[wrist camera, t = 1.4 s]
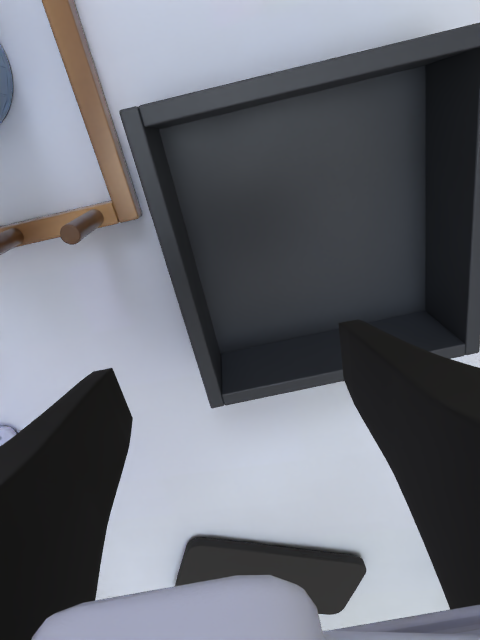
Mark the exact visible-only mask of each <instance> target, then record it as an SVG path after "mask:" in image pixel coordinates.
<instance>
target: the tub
mask: <svg viewBox="0 0 480 640" xmlns="http://www.w3.org/2000/svg"><path fill="white" fill-rule="evenodd" d="M120 116H121V120H122V123H123V126H124V129H125V133H126V136H127V139H128V142H129V145H130V149H131V152H132V155H133V158H134V162H135V165H136V168H137V171H138V174H139V178H140V181H141V184H142V187H143V190H144V194H145V197H146V200H147V203H148V207H149V210H150V213H151V216H152V219H153V223H154V226H155V229H156V232H157V236H158V239H159V242H160V245H161V248H162V252H163V255H164V258H165V261H166V265H167V268H168V271H169V274H170V277H171V281H172V284H173V287H174V290H175V293H176V297H177V300H178V303H179V306H180V310H181V313H182V316H183V319H184V322H185V326H186V329H187V332H188V335H189V339H190V342H191V345H192V348H193V351H194V355H195V358H196V361H197V364H198V368H199V371H200V374H201V377H202V380H203V384H204V387H205V390H206V393H207V396H208V400H209V403H210V406H211V408H215V407H220V406H224V404H225V405H230V404H235V403H240V402H244V401H249V400H254V399H259V398H264V397H268V396H273V395H278V394H283V393H288V392H292V391H297V390H302V389H307V388H312V387H316V386H321V385H326V384H331V383H336V382H340V381H345V380H344V378H343V367H342V356H341V345H340V334H339V323H342V322H347V321H352V320H357V319H359V320H361V321H364V322H366V323H368V324H370V325H372V326H374V327H376V328H378V329H380V330H382V331H384V332H386V333H388V334H390V335H392V336H395V337H397V338H399V339H401V340H403V341H405V342H408V343H410V344H412V345H414V346H417V347H419V348H422V349H424V350H427V351H429V352H432V353H434V354H437V355H439V356H442V357H445V358H448V359H451V358H456V357H461V356H464V355H470V354H474V353H478V352H479V346H480V23H476V24H472V25H468V26H464V27H460V28H456V29H452V30H448V31H443V32H439V33H435V34H431V35H427V36H423V37H419V38H415V39H411V40H406V41H402V42H398V43H394V44H390V45H386V46H382V47H378V48H374V49H370V50H365V51H361V52H357V53H353V54H349V55H345V56H341V57H337V58H333V59H328V60H324V61H320V62H316V63H312V64H308V65H304V66H300V67H296V68H291V69H287V70H283V71H279V72H275V73H271V74H267V75H263V76H259V77H255V78H250V79H246V80H242V81H238V82H234V83H230V84H226V85H222V86H218V87H213V88H209V89H205V90H201V91H197V92H193V93H189V94H185V95H181V96H177V97H172V98H168V99H164V100H160V101H156V102H152V103H148V104H144V105H140V106H139V107H136V106H135V107H131V108H127V109H123V110H120Z"/></svg>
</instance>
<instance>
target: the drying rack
mask: <svg viewBox="0 0 480 640" xmlns="http://www.w3.org/2000/svg"><path fill="white" fill-rule="evenodd" d="M42 3H43V6H44V9H45V12H46V14H47V17H48V20H49V23H50V26H51V29H52V32H53V34H54V37H55V40H56V43H57V46H58V49H59V52H60V54H61V57H62V60H63V63H64V66H65V69H66V72H67V74H68V77H69V80H70V83H71V86H72V89H73V92H74V94H75V97H76V100H77V103H78V106H79V109H80V112H81V114H82V117H83V120H84V123H85V126H86V129H87V132H88V134H89V137H90V140H91V143H92V146H93V149H94V152H95V155H96V157H97V160H98V163H99V166H100V169H101V172H102V175H103V177H104V180H105V183H106V186H107V189H108V192H109V195H110V197H111V200H112V201H107V202H103V203H99V204H95V205H90V206H86V207H82V208H78V209H73V210H69V211H65V212H60V213H56V214H52V215H48V216H43V217H39V218H35V219H30V220H26V221H22V222H18V223H13V224H9V225H5V226H0V255H1V254H3V253H5V252H6V251H8V250H10V249H12V248H14V247H18V246H22V245H27V244H31V243H35V242H40V241H44V240H48V239H53V238H57V237H61V238H62V240H63V241H64V242H66V243H68V244H76V243H78V242H79V241H81V240H82V239H83V238H84V237H86V236H87V235H88V234H90V233H91V232H92V231H94V230H95V229H96V228H100V227H105V226H109V225H113V224H118V223H119V222H120V223H122V222H126V221H130V220H135V219H138V218H139V217H140V216H141V215H142V212H141V209H140V206H139V203H138V200H137V197H136V194H135V190H134V187H133V184H132V181H131V178H130V175H129V172H128V169H127V165H126V162H125V159H124V156H123V153H122V150H121V147H120V144H119V140H118V137H117V134H116V131H115V128H114V125H113V122H112V119H111V116H110V112H109V109H108V106H107V103H106V100H105V97H104V94H103V91H102V87H101V84H100V81H99V78H98V75H97V72H96V69H95V66H94V63H93V59H92V56H91V53H90V50H89V47H88V44H87V41H86V38H85V34H84V31H83V28H82V25H81V22H80V19H79V16H78V13H77V9H76V6H75V3H74V0H42Z"/></svg>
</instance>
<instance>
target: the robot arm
mask: <svg viewBox="0 0 480 640" xmlns="http://www.w3.org/2000/svg"><path fill="white" fill-rule="evenodd" d="M339 334H340V345H341V356H342V367H343V378H344V380H345V383H346V385H347V388H348V390H349V393H350V395H351V398H352V400H353V402H354V405H355V406H356V408H357V410H358V412H359V413H360V415H361V417H362V419H363V420H364V422H365V424H366V426H367V427H368V429H369V431H370V433H371V434H372V436H373V438H374V439H375V441H376V443H377V445H378V446H379V448H380V450H381V451H382V453H383V455H384V457H385V458H386V460H387V462H388V464H389V466H390V468H391V470H392V471H393V473H394V475H395V477H396V480H397V482H398V484H399V486H400V489H401V491H402V493H403V495H404V498H405V500H406V502H407V504H408V507H409V509H410V511H411V514H412V516H413V518H414V521H415V523H416V525H417V528H418V530H419V532H420V535H421V537H422V539H423V542H424V544H425V547H426V549H427V552H428V554H429V557H430V559H431V561H432V564H433V566H434V569H435V571H436V574H437V576H438V579H439V581H440V584H441V586H442V589H443V591H444V594H445V597H446V599H447V602H448V604H449V607H450V610H446V611H440V612H434V613H428V614H423V615H417V616H411V617H405V618H399V619H393V620H388V621H382V622H376V623H370V624H364V625H359V626H353V627H347V628H341V629H335V630H329V631H322V629H321V624H320V619H319V615H318V610H317V607H316V605H315V604H314V603H313V601H312V600H311V598H310V597H309V596H308V594H307V593H306V592H305V590H304V589H303V588H301V587H300V586H298V585H296V584H294V583H291V582H288V581H285V580H283V579H280V578H277V577H274V576H272V575H237V576H231V577H225V578H220V579H214V580H208V581H203V582H197V583H192V584H186V585H180V586H175V587H169V588H163V589H158V590H152V591H147V592H141V593H135V594H130V595H124V596H119V597H113V598H107V599H102V600H96V601H95V598H96V591H97V584H98V577H99V571H100V564H101V558H102V552H103V546H104V541H105V535H106V529H107V525H108V521H109V516H110V512H111V509H112V505H113V502H114V498H115V495H116V491H117V488H118V484H119V481H120V478H121V474H122V471H123V467H124V463H125V460H126V456H127V452H128V449H129V443H130V436H131V428H132V419H133V418H132V416H131V413H130V411H129V408H128V406H127V403H126V401H125V398H124V396H123V393H122V391H121V388H120V386H119V384H118V381H117V379H116V376H115V374H114V371H113V369H112V368H110V369H105V370H99V371H94V372H92V373H91V374H89V375H88V376H87V377H85V378H84V379H83V380H81V381H80V382H79V383H78V384H77V385H75V386H74V387H73V388H72V389H71V390H70V391H68V392H67V393H66V394H65V395H64V396H63V397H61V398H60V399H59V400H58V401H57V402H56V403H54V404H53V405H52V406H51V407H50V408H49V409H47V410H46V411H45V412H44V413H43V414H41V415H40V416H39V417H38V418H36V419H35V420H34V421H33V422H31V423H30V424H29V425H28V426H26V427H25V428H24V429H23V430H21V431H20V432H19V433H18V434H16V432H15V431H14V430H13V428H11V427H8V426H2V427H0V640H480V368H478V367H474V366H471V365H467V364H464V363H461V362H458V361H454V360H451V359H448V358H445V357H442V356H439V355H437V354H434V353H432V352H429V351H427V350H424V349H422V348H419V347H417V346H414V345H412V344H410V343H408V342H405V341H403V340H401V339H399V338H397V337H395V336H392V335H390V334H388V333H386V332H384V331H382V330H380V329H378V328H376V327H374V326H372V325H370V324H368V323H366V322H364V321H361V320H359V319H357V320H352V321H347V322H342V323H339Z"/></svg>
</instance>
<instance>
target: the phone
mask: <svg viewBox="0 0 480 640" xmlns="http://www.w3.org/2000/svg"><path fill="white" fill-rule="evenodd" d="M365 573H366V567H365V564H364V561H363V560H362V559H361V558H360V557H357V556H352V555H344V554H336V553H327V552H319V551H311V550H303V549H294V548H286V547H278V546H270V545H261V544H253V543H245V542H236V541H228V540H220V539H212V538H196V539H193V540H191V541H190V542H189V543H188V544H187V546H186V549H185V553H184V556H183V560H182V563H181V566H180V570H179V573H178V577H177V580H176V586H180V585H186V584H192V583H197V582H203V581H208V580H214V579H220V578H225V577H231V576H237V575H272V576H274V577H277V578H280V579H283V580H285V581H288V582H291V583H294V584H296V585H298V586H300V587H301V588H303V589H304V590H305V592H306V593H307V594H308V596H309V597H310V598H311V600H312V601H313V603H314V604H315V605H316V607H317V610H318V614H328V615H330V614H336V613H339V612H340V611H342V610H343V609H344V607H345V606H346V604H347V603H348V601H349V599H350V598H351V596H352V595H353V593H354V591H355V590H356V588H357V587H358V585H359V583H360V582H361V580H362V578H363V577H364V575H365Z"/></svg>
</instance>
